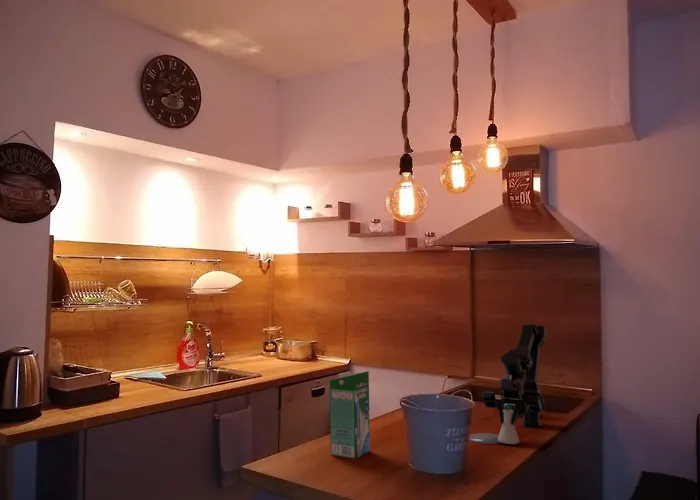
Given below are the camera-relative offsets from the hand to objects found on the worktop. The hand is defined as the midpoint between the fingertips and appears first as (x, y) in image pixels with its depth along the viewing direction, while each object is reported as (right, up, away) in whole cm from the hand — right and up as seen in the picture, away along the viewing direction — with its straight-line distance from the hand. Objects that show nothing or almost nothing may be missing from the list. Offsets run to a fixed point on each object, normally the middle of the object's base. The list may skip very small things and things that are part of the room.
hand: (506, 423), depth 178 cm
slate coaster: (-5, -7, +6) cm, 11 cm away
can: (+14, -10, +42) cm, 45 cm away
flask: (+1, -6, +1) cm, 7 cm away
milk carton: (-51, -7, -7) cm, 52 cm away
